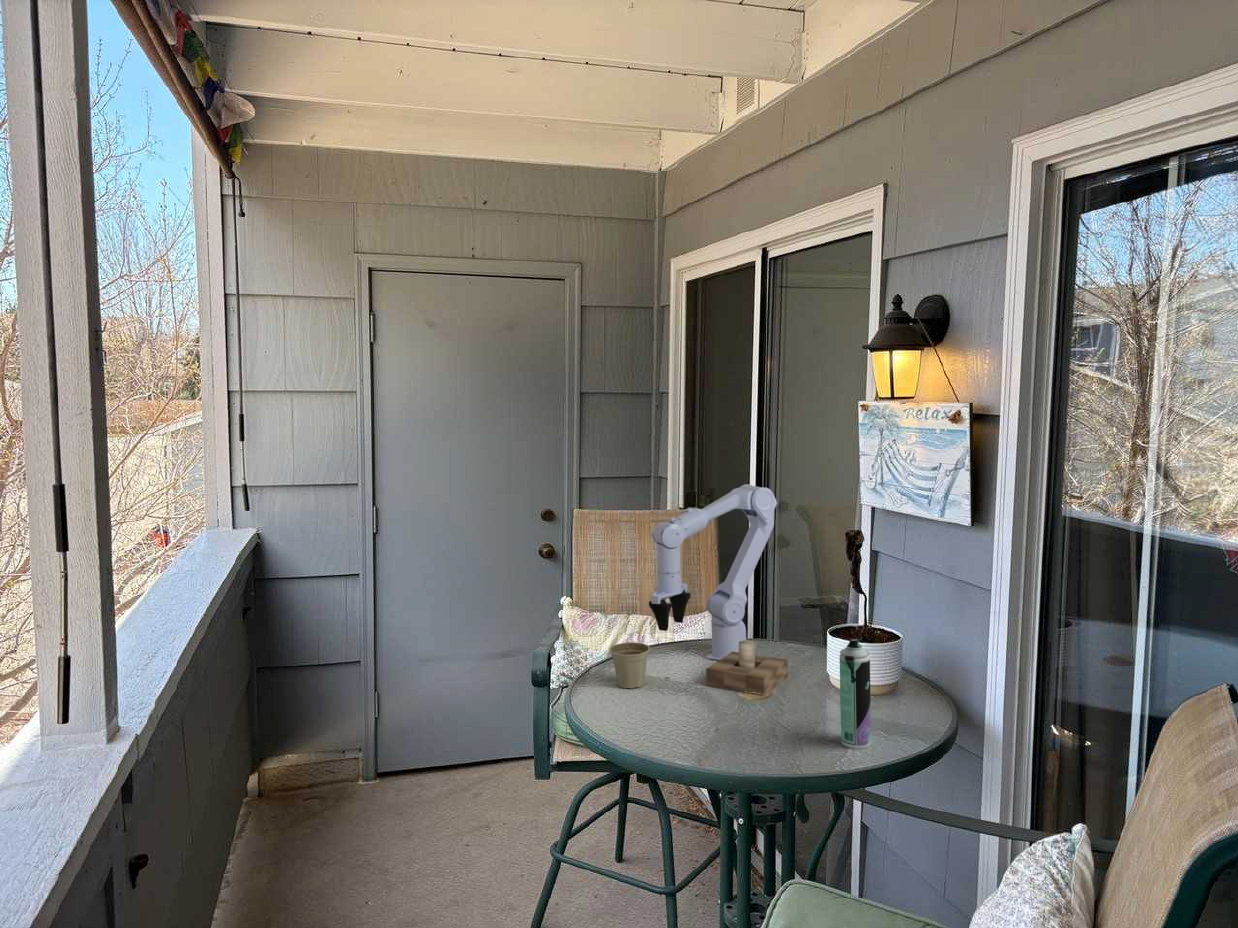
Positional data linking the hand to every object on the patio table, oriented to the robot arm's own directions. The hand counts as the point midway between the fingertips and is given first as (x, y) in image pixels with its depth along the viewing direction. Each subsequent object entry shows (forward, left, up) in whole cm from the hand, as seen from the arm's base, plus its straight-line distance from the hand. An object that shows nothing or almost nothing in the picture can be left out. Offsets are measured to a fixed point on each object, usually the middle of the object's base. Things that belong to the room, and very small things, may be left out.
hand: (671, 626), depth 207 cm
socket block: (+2, +21, -10) cm, 23 cm away
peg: (+2, +21, -9) cm, 23 cm away
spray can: (+24, +53, -10) cm, 59 cm away
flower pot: (+16, -2, -10) cm, 19 cm away
